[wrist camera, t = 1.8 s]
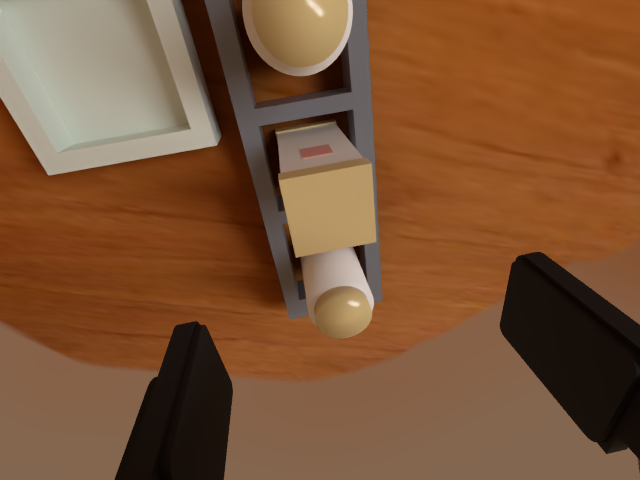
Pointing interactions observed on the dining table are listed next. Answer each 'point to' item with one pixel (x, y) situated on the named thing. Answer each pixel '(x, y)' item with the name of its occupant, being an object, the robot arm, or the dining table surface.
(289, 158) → the block
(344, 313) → the post
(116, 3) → the tray
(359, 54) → the holder
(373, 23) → the dining table surface
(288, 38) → the post
